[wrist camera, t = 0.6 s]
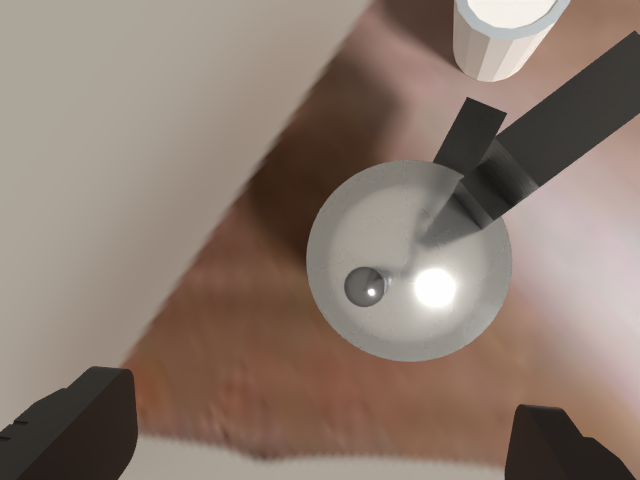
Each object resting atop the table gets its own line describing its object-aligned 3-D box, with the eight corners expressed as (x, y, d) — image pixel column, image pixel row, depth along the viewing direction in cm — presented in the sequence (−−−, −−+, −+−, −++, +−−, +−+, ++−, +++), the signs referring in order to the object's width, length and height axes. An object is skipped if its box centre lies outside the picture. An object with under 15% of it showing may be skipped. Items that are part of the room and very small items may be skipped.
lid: (506, 62, 24) (554, -47, 16) (647, 211, 22) (780, 169, 14) (274, 242, 26) (217, 222, 18) (386, 398, 23) (377, 453, 16)
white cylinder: (425, 51, 34) (431, -7, 28) (490, -13, 34) (511, -88, 27) (492, 108, 33) (514, 61, 26) (560, 41, 33) (601, -24, 26)
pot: (406, 123, 34) (407, 66, 25) (531, 178, 32) (578, 136, 23) (316, 293, 34) (285, 296, 25) (434, 360, 32) (446, 387, 23)
